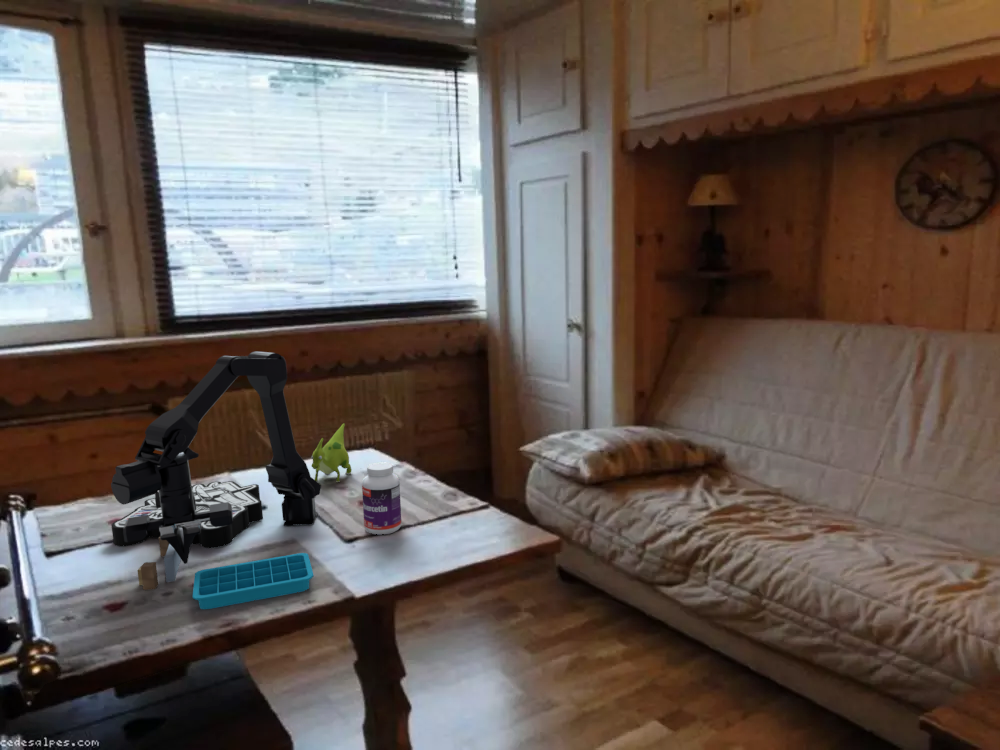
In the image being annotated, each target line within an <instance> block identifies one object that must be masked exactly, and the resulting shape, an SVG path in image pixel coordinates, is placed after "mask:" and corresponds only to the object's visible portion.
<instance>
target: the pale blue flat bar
mask: <svg viewBox="0 0 1000 750" xmlns="http://www.w3.org/2000/svg"><path fill="white" fill-rule="evenodd" d="M180 534H181V538H182V541H183V545H184V537H183V528H180ZM181 562H182V560H181V558H180V557H179V555H178V554H177V552H176V551H175V549H174V548H173V547H172V546H171V545H170V544H169V546H168V549H167V552H166V555H165V556H163V563H164V565H163V566H164V571H165V573H164V574H165V580H166V583H171V582H176V579H177V575H178V571H179V567H180V565H181Z"/></svg>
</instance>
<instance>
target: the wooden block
mask: <svg viewBox="0 0 1000 750" xmlns="http://www.w3.org/2000/svg"><path fill="white" fill-rule="evenodd" d="M157 570H158V569H157V562H156V561H149V562H143V564H141V566H140V567H138V569H137V576H138V577H137V578H138V585H139V586H142V589H143V591H145V590H146V591H148V590H155V589H157V587H158V586H159V578H158V571H157Z"/></svg>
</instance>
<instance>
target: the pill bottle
mask: <svg viewBox="0 0 1000 750" xmlns="http://www.w3.org/2000/svg"><path fill="white" fill-rule="evenodd" d="M366 472H367V474H366V475H365V477H363V479H362V481H361V489H362V490H361V491H362V492H361V493H362V507H363V508H362V511H363V527H364V529H365V531H366V532H367V533H369V534H371V533H372V534H371V535H376V534H377V536H378V535H379V536H381V535H382V534H384V535H389V534H392V533H395V532H397V531H398V530H399V529H401V526H402V507H401V505H402V504H401V485H400V484H401V483H400V478H399V477H398V475H397V474H396V473H393V472H394V464H393V463H392V462H385V461H381V462H373V463H370V464H368V465H367V467H366ZM382 536H383V535H382Z"/></svg>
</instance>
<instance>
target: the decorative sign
mask: <svg viewBox="0 0 1000 750" xmlns="http://www.w3.org/2000/svg"><path fill="white" fill-rule="evenodd" d="M192 491H193V493H194V496H195V501H196V510H195V513H199V512H205V511H210V505H213V504H219V503H225V502H229V503H230V504H231V505H232V512H233V523H232V524H230V525H226V526H220V527H214V526H213V525H211V524H210V521H206V522H201V533H200V534H197V535H195V536H194V539H193V542H192V544H191V546H192V545H198V544H199V545H200V546H201V547H203V548H204V549H217V548H221V547H224V546H228V545H230V544H231V543H232V542H233V540H234V539H235V538H237V536H238V535H240V534H241V533H242V532H243V531H244V530H247V529H248V528H250V524H251V523H256V522H259V521H262V520H263V519H264V516H263V515H264V514H263V503H262V500H261V496H260V486H259V484H256V483H255V484H254V483H253V484H249V485H245V486H241V485H240V484H238V483H236V482H235V481H232V480H231V481H230V480H229V481H224V482H221V481H212V482H209V483H208V484H207V485H205V484H204V483H196V484H193V485H192ZM144 515H149V517H150V520H156V519H162V511H161V508H156V502H155V497H154V498H153V497H152V498H149V499H145V501H144V505H142V506H137V507H136V508H135V509H134V510H133V511H131V512H129V513H128V514H127V515H125V516H124V517H122V518H120V519H117V520H116V521H114V522H112V523H110V524H111V525H110V526H111V533H112V540H113V545H114V546H116V547H121V548H122V547H130V546H135V545H139V544H141V543H143V542H145V541H146V540H147V539H148V538H154V539H159V537H160V535H161V532H160V531H159V530H153V531H147V535H146V537H145V538H144V539H143V540H137V541H132V542H125V541H124V535H123V528H124V526H125V523H126V521H127V520H128V519H129V518H132V517H138V516H144ZM179 528H183V537H184V529H185V528H184V525H183V526H179Z"/></svg>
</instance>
